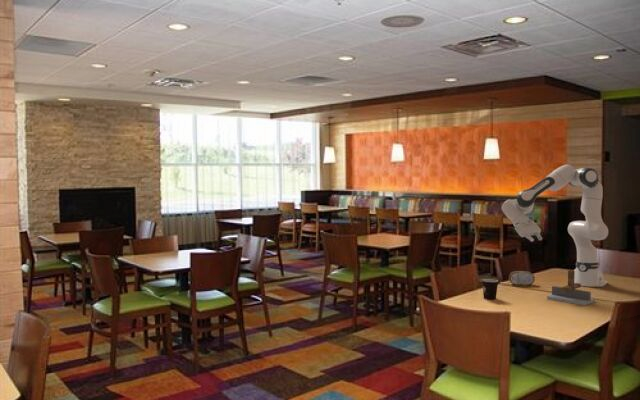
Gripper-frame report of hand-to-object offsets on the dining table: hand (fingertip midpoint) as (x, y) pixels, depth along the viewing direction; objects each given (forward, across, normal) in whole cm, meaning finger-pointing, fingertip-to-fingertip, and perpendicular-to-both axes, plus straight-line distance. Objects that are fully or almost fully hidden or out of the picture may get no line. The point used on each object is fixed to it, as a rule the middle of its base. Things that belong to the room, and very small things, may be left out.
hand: (536, 240), depth 313 cm
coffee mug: (+16, -39, +26) cm, 49 cm away
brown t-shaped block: (+34, -11, -1) cm, 36 cm away
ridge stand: (+39, -11, +3) cm, 40 cm away
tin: (+12, +6, +30) cm, 33 cm away
